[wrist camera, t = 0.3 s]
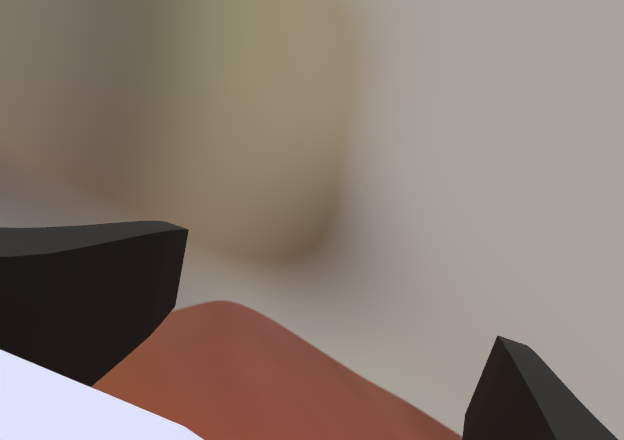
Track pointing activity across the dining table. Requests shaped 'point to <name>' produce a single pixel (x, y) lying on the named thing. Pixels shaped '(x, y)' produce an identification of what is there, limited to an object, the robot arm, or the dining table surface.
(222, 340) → the dining table surface
